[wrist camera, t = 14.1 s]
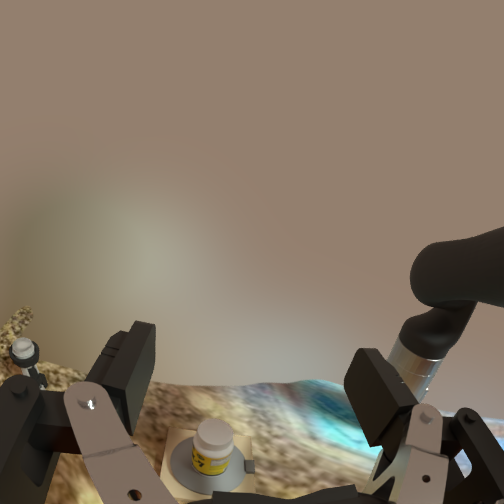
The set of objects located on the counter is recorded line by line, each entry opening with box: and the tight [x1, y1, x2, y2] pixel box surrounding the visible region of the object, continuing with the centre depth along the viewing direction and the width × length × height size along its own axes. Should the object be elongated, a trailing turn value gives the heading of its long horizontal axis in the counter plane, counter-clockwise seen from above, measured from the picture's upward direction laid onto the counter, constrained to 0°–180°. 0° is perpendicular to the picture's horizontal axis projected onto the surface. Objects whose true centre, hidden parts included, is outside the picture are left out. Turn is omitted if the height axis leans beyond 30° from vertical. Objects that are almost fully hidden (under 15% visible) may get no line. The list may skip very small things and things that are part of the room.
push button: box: [9, 338, 48, 390], centre depth 30 cm, size 7×5×10 cm
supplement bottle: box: [191, 419, 234, 477], centre depth 28 cm, size 5×5×8 cm
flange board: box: [160, 427, 256, 502], centre depth 29 cm, size 12×12×2 cm
